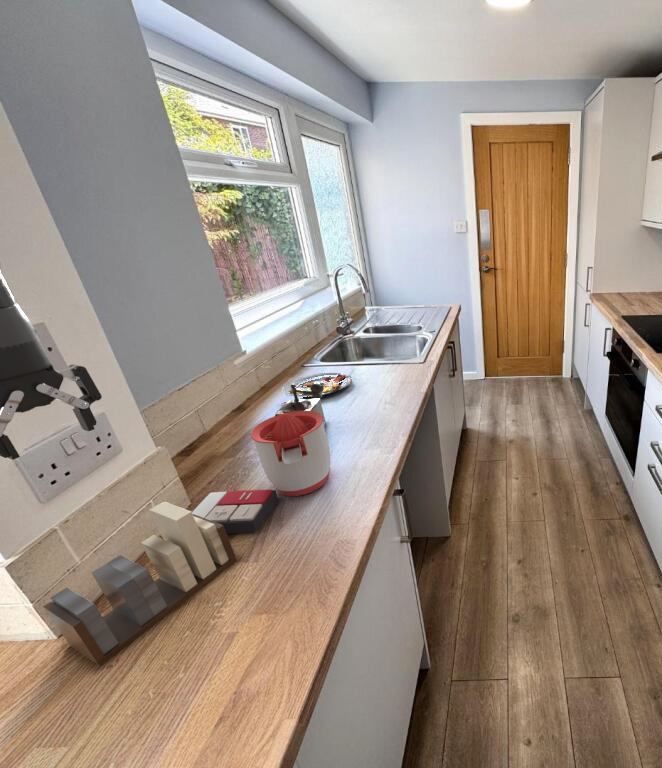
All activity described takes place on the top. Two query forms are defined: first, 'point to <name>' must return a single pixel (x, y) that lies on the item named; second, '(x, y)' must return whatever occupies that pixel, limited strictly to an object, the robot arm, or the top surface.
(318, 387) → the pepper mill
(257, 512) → the calculator
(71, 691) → the top surface
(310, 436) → the citrus juicer
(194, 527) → the pale book
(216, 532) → the book trough
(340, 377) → the food plate
